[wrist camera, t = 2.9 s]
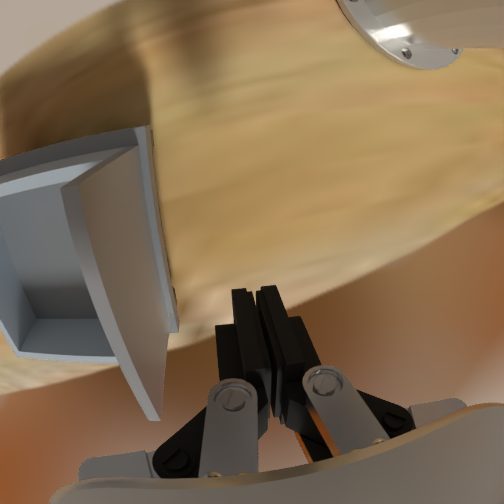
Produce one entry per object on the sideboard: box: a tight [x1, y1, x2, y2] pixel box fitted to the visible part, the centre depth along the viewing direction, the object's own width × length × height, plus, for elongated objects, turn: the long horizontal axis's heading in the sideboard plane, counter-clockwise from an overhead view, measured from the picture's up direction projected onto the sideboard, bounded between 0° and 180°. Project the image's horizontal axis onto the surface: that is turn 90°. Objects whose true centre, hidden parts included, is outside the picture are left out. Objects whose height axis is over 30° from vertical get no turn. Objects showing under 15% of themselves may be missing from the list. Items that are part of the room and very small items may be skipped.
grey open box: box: [0, 125, 179, 421], centre depth 14 cm, size 12×13×12 cm
